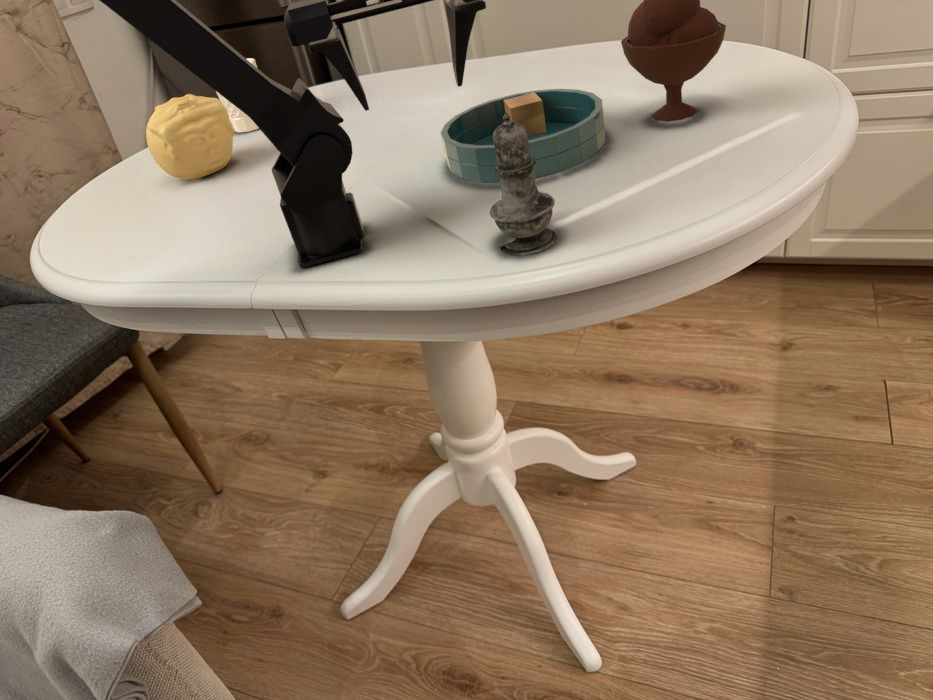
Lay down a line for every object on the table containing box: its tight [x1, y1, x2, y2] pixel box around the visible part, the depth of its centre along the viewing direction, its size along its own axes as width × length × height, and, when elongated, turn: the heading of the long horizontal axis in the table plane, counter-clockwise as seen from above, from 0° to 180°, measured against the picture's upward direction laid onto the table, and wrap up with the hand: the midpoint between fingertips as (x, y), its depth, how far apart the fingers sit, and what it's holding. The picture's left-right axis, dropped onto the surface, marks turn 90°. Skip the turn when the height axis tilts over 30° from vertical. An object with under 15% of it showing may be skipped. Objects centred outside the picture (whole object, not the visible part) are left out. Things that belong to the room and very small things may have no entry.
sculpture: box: [145, 93, 235, 180], centre depth 100 cm, size 12×12×11 cm
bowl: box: [440, 88, 606, 184], centre depth 81 cm, size 19×19×4 cm
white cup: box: [215, 57, 260, 133], centre depth 116 cm, size 8×8×10 cm
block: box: [504, 92, 547, 137], centre depth 85 cm, size 4×4×4 cm
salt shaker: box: [489, 112, 557, 257], centre depth 60 cm, size 6×6×12 cm
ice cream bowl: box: [620, 0, 727, 123], centre depth 77 cm, size 11×11×15 cm
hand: (413, 97), depth 67 cm, fingers open, 9 cm apart
